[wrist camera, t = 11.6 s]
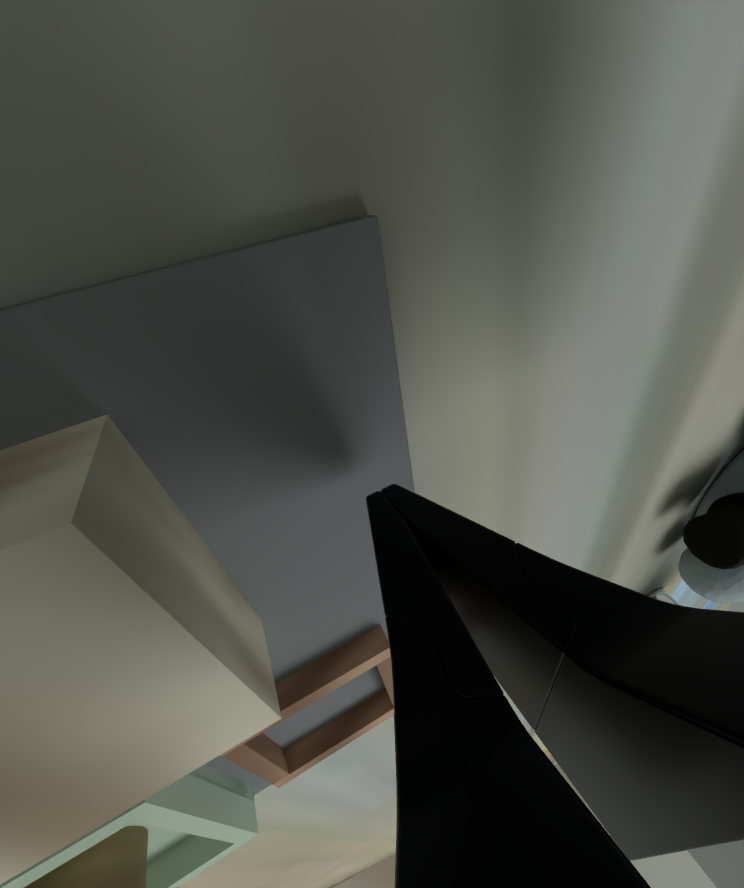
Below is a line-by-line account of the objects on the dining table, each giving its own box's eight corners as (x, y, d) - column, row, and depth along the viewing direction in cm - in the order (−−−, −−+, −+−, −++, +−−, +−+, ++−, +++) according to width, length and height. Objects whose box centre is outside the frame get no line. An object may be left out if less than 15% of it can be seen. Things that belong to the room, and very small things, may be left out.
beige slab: (107, 414, 7) (71, 523, 4) (261, 617, 12) (281, 718, 9) (-536, 630, 5) (-1198, 1024, 2) (-25, 763, 10) (-87, 935, 7)
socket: (380, 624, 15) (391, 646, 14) (400, 685, 19) (409, 704, 19) (210, 720, 13) (212, 751, 13) (274, 763, 18) (278, 787, 17)
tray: (148, 736, 12) (144, 802, 11) (252, 786, 18) (258, 833, 17) (-208, 932, 10) (-269, 1047, 9) (43, 917, 16) (30, 984, 14)
